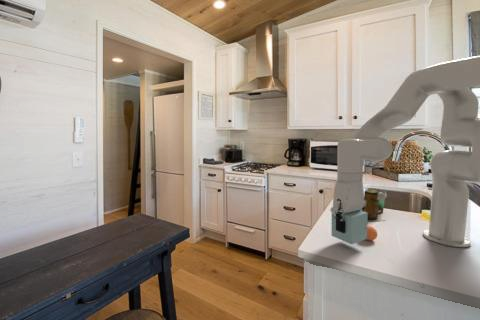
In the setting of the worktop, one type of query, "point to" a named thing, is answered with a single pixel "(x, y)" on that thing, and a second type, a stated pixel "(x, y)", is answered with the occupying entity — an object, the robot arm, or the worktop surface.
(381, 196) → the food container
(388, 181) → the worktop surface
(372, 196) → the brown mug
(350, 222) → the mint green cube
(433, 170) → the robot arm
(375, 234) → the ball
